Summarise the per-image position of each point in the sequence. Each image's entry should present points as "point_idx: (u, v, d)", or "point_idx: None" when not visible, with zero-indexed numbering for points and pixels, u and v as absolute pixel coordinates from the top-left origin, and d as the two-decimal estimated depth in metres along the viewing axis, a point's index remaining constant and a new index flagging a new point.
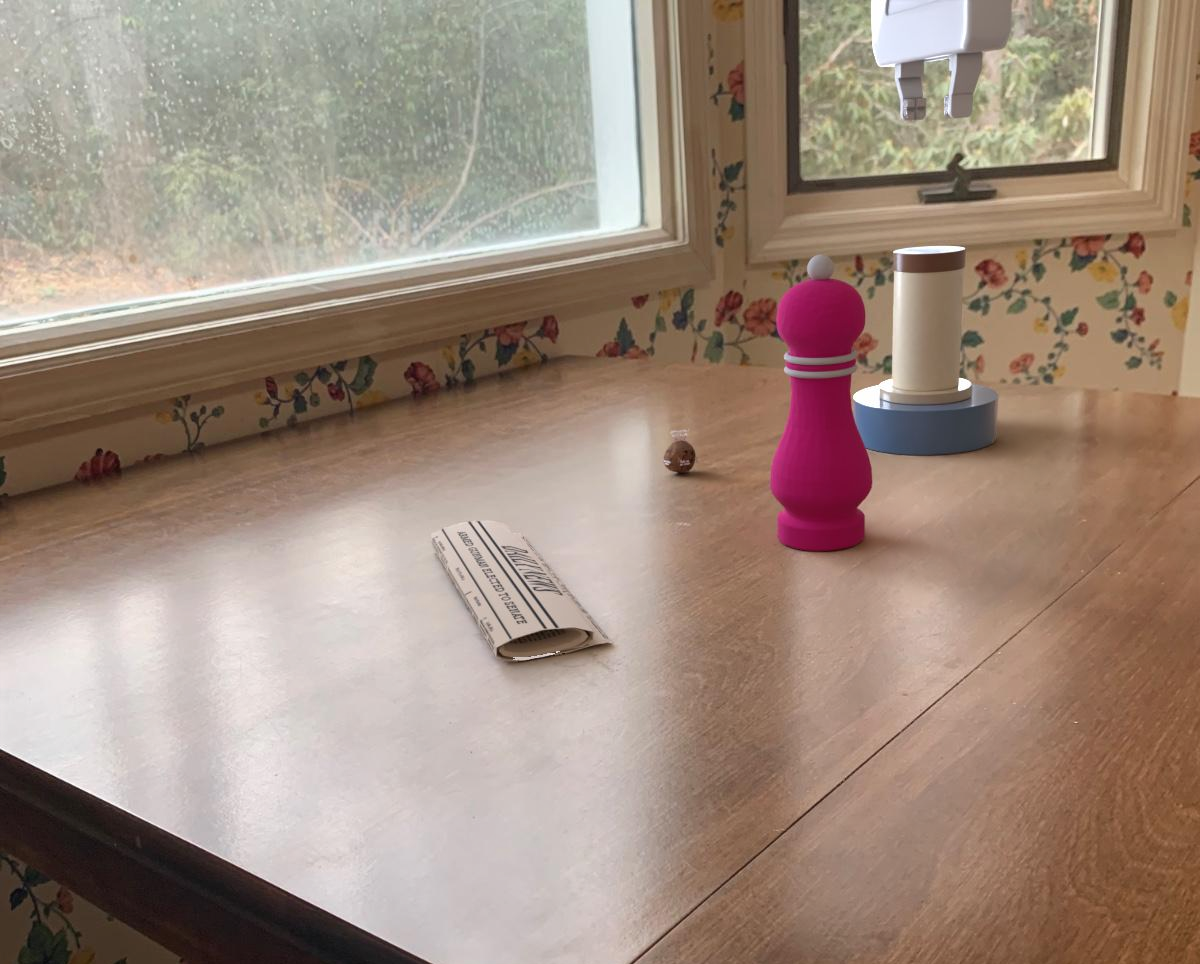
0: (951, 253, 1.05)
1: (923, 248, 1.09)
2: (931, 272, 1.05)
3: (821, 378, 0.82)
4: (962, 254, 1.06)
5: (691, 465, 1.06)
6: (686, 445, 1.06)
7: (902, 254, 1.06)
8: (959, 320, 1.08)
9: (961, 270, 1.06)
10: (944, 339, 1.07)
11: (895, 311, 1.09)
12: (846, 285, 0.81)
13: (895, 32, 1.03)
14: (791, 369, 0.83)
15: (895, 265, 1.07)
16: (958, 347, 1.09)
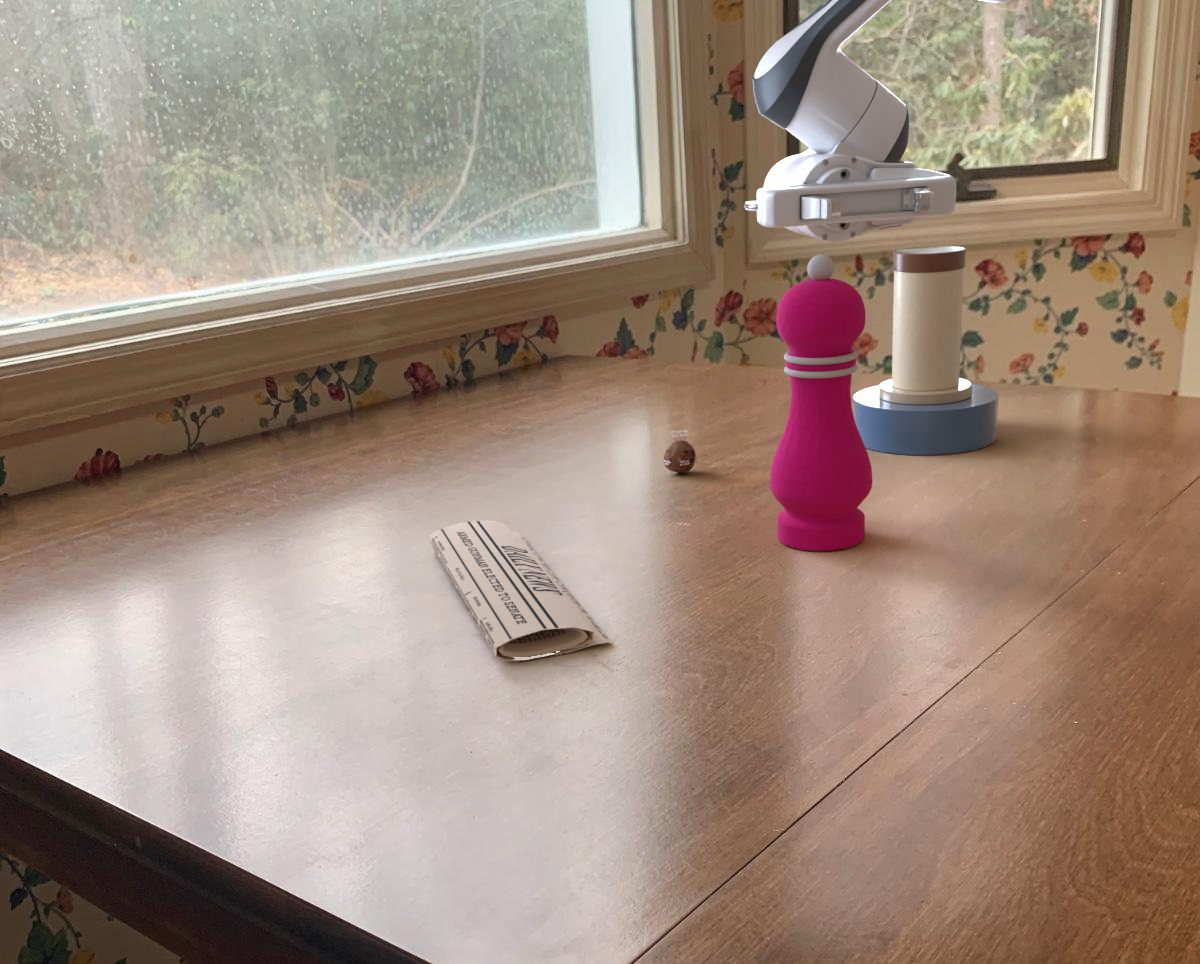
0: (951, 253, 1.05)
1: (923, 248, 1.09)
2: (931, 272, 1.05)
3: (821, 378, 0.82)
4: (962, 254, 1.06)
5: (691, 465, 1.06)
6: (686, 445, 1.06)
7: (902, 254, 1.06)
8: (959, 320, 1.08)
9: (961, 270, 1.06)
10: (944, 339, 1.07)
11: (895, 311, 1.09)
12: (846, 285, 0.81)
13: None
14: (791, 369, 0.83)
15: (895, 265, 1.07)
16: (958, 347, 1.09)
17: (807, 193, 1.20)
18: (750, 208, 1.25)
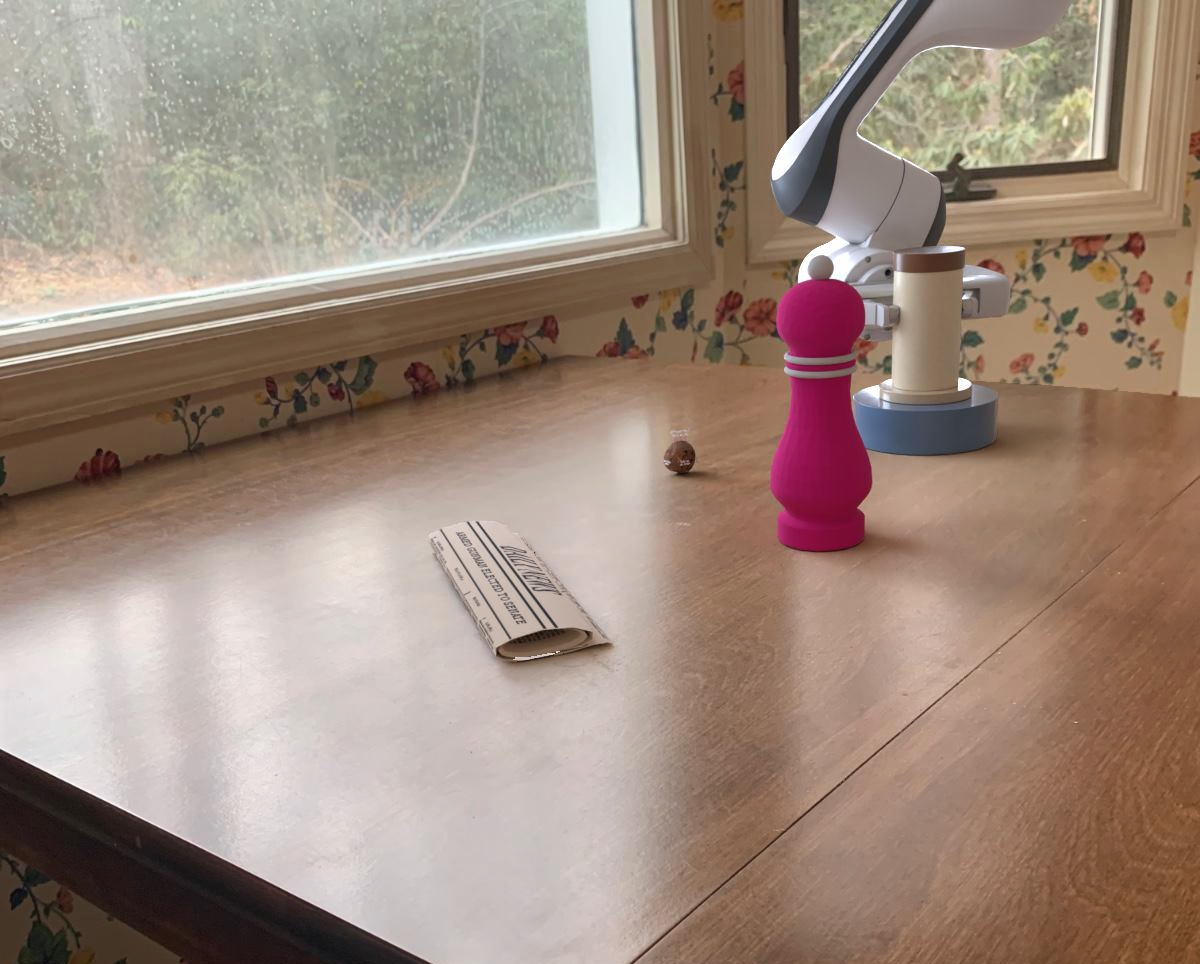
0: (951, 253, 1.05)
1: (923, 248, 1.09)
2: (931, 272, 1.05)
3: (821, 378, 0.82)
4: (962, 254, 1.06)
5: (691, 465, 1.06)
6: (686, 445, 1.06)
7: (902, 254, 1.06)
8: (959, 320, 1.08)
9: (961, 270, 1.06)
10: (944, 339, 1.07)
11: None
12: (846, 285, 0.81)
13: None
14: (791, 369, 0.83)
15: (895, 265, 1.07)
16: (958, 347, 1.09)
17: None
18: None
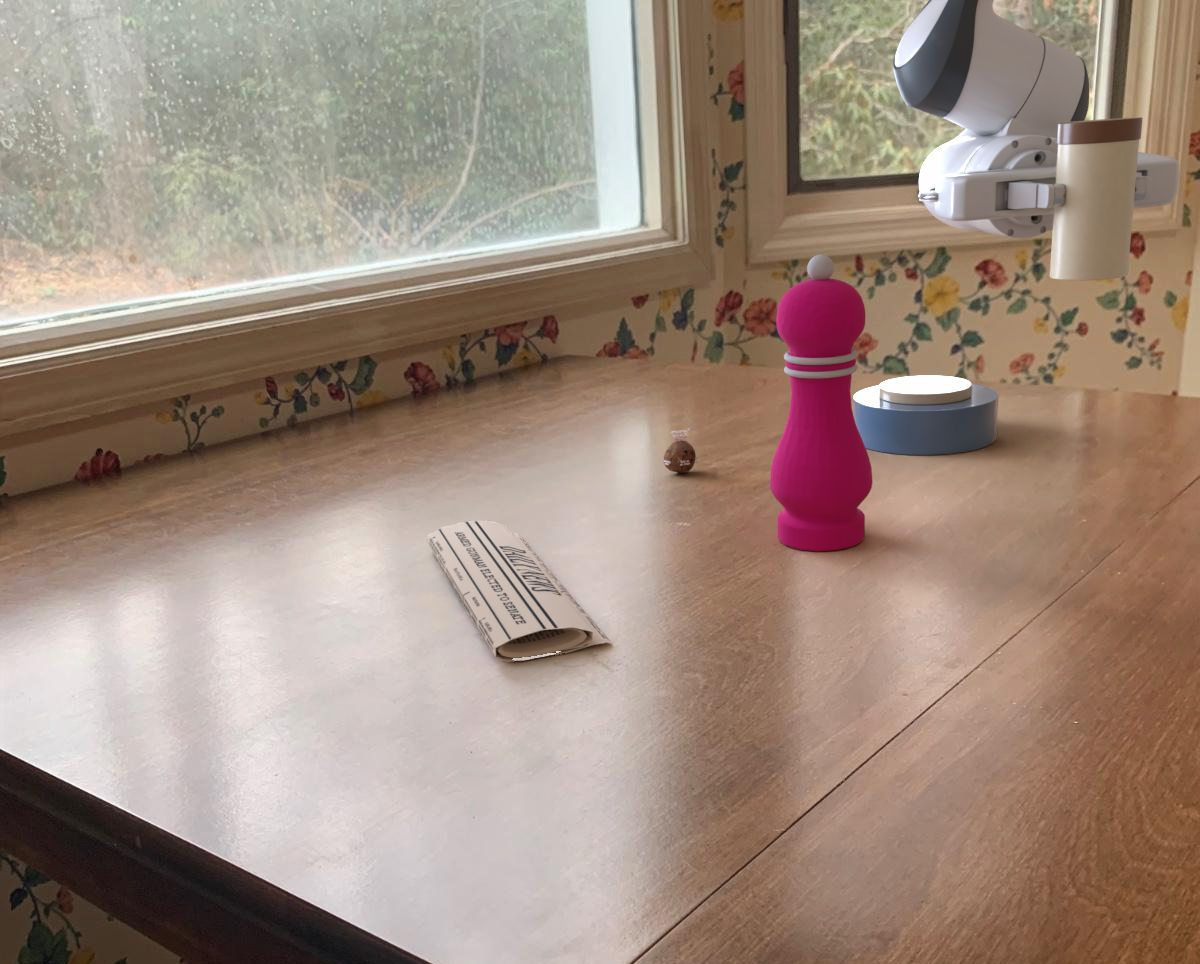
0: (1129, 120, 0.93)
1: (1090, 120, 0.97)
2: (1106, 142, 0.94)
3: (821, 378, 0.82)
4: (1140, 122, 0.94)
5: (691, 465, 1.06)
6: (686, 445, 1.06)
7: (1072, 123, 0.94)
8: (1132, 199, 0.96)
9: (1137, 141, 0.95)
10: (1117, 220, 0.96)
11: None
12: (846, 285, 0.81)
13: None
14: (791, 369, 0.83)
15: (1061, 137, 0.96)
16: (1130, 231, 0.97)
17: (1005, 179, 1.00)
18: (928, 199, 1.05)
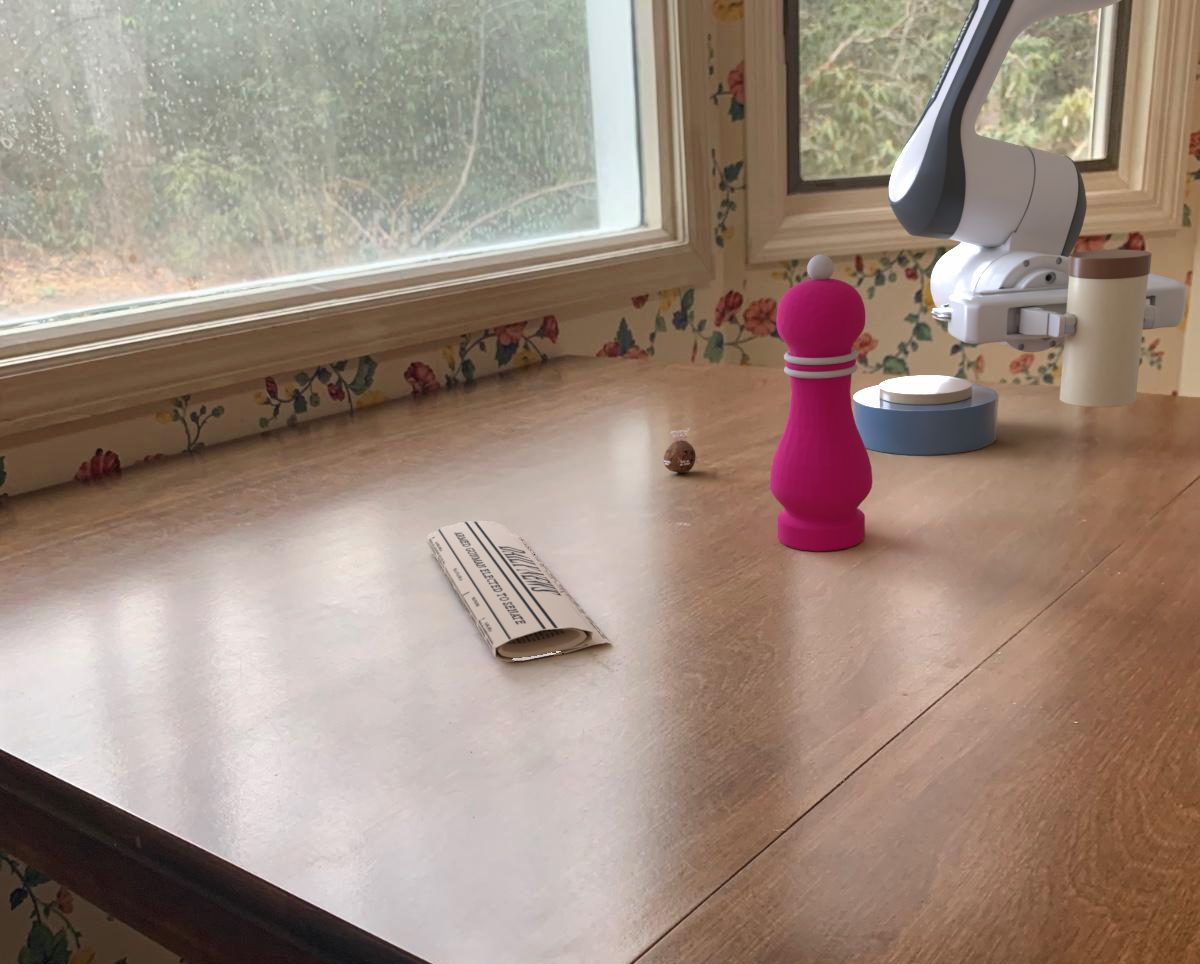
0: (1139, 258, 0.96)
1: (1101, 252, 1.00)
2: (1116, 278, 0.96)
3: (821, 378, 0.82)
4: (1149, 259, 0.97)
5: (691, 465, 1.06)
6: (686, 445, 1.06)
7: (1083, 258, 0.97)
8: (1141, 330, 0.99)
9: (1146, 276, 0.97)
10: (1126, 351, 0.98)
11: None
12: (846, 285, 0.81)
13: None
14: (791, 369, 0.83)
15: (1073, 270, 0.99)
16: (1138, 360, 1.00)
17: (1017, 305, 1.03)
18: (941, 318, 1.08)
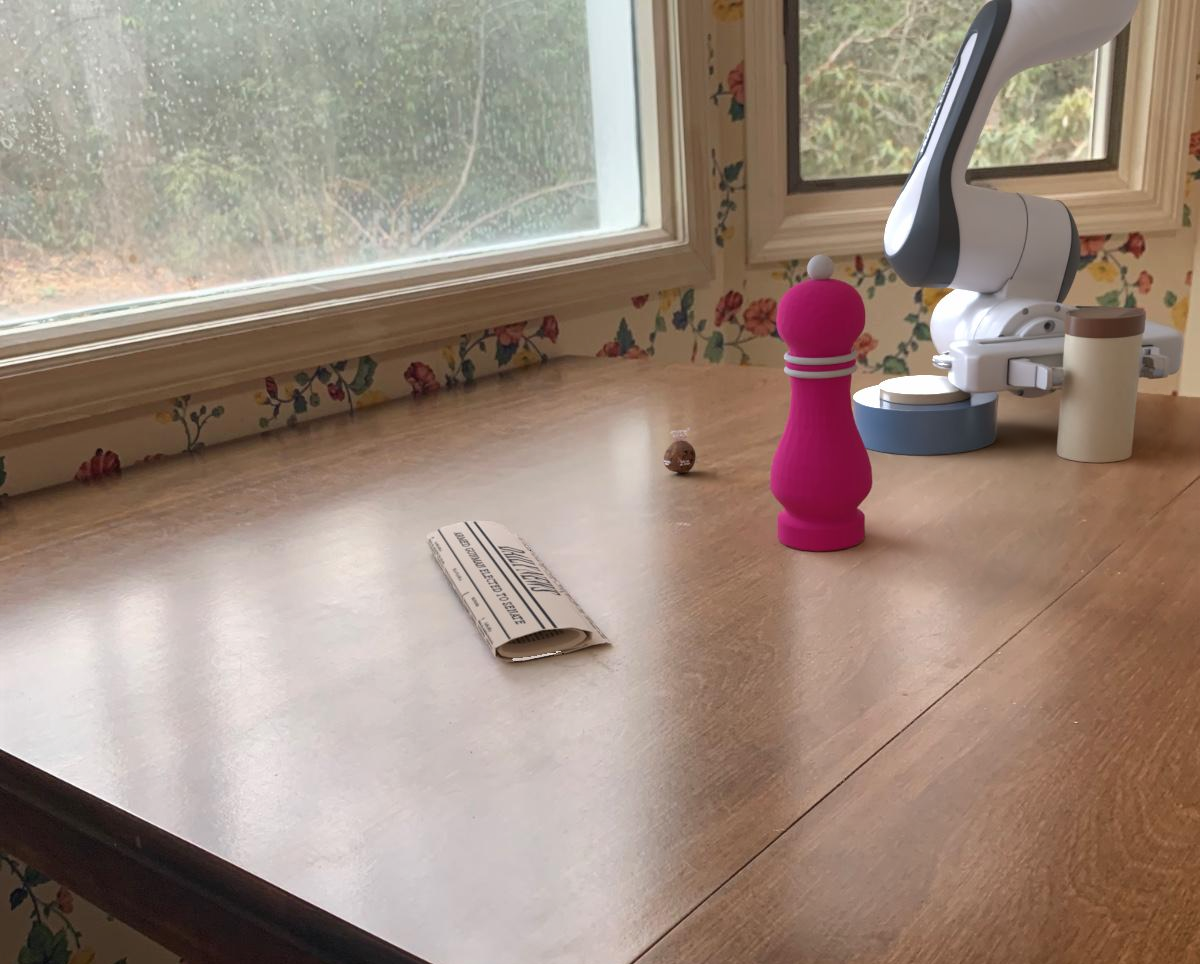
0: (1133, 318, 0.97)
1: (1096, 310, 1.01)
2: (1111, 338, 0.98)
3: (821, 378, 0.82)
4: (1143, 318, 0.98)
5: (691, 465, 1.06)
6: (686, 445, 1.06)
7: (1078, 318, 0.99)
8: (1136, 387, 1.01)
9: (1141, 335, 0.99)
10: (1122, 408, 1.00)
11: (1066, 377, 1.02)
12: (846, 285, 0.81)
13: None
14: (791, 369, 0.83)
15: (1068, 329, 1.00)
16: (1134, 416, 1.01)
17: (1016, 356, 1.04)
18: (942, 366, 1.09)
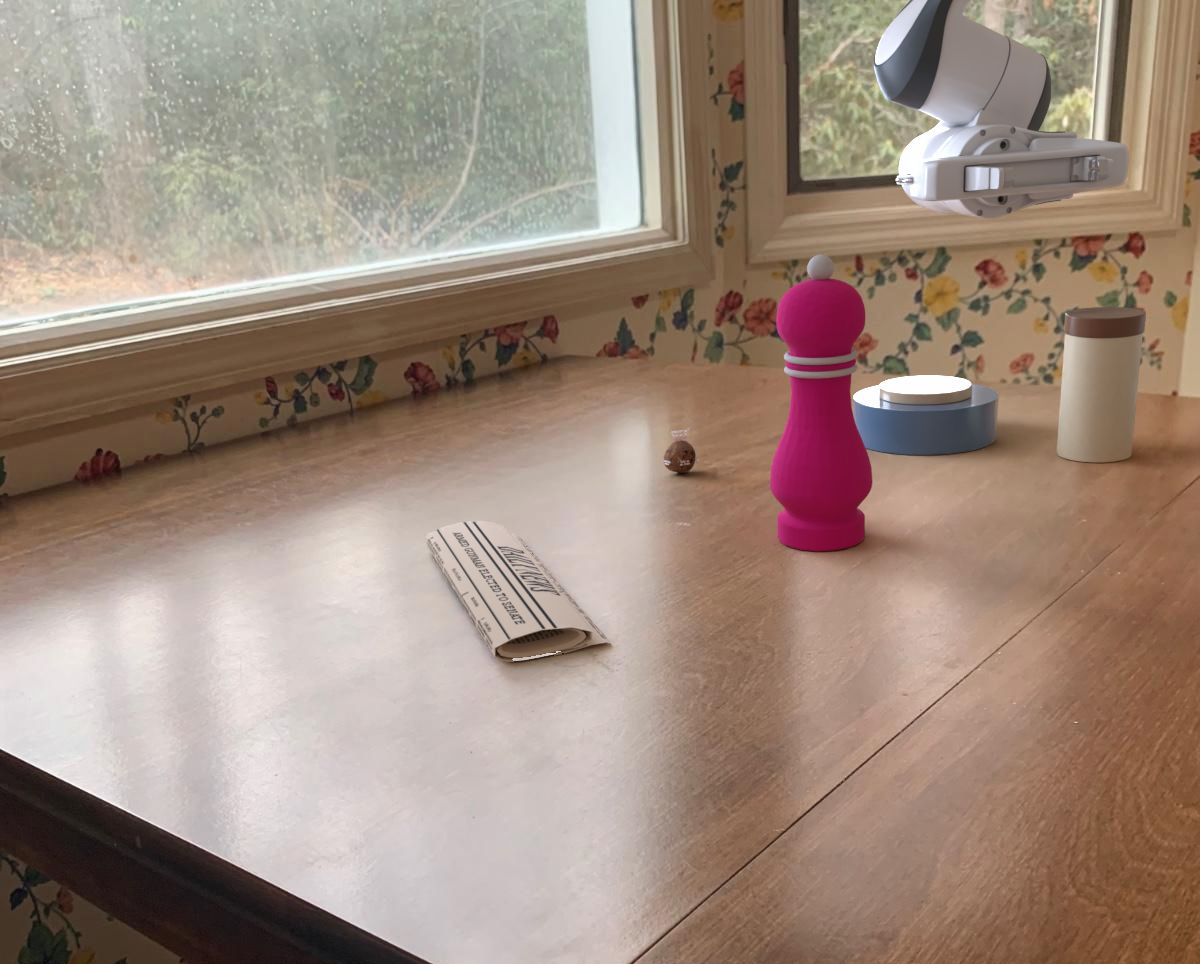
0: (1133, 318, 0.97)
1: (1096, 310, 1.01)
2: (1111, 338, 0.98)
3: (821, 378, 0.82)
4: (1143, 318, 0.98)
5: (691, 465, 1.06)
6: (686, 445, 1.06)
7: (1078, 318, 0.99)
8: (1136, 387, 1.01)
9: (1141, 335, 0.99)
10: (1122, 408, 1.00)
11: (1066, 377, 1.02)
12: (846, 285, 0.81)
13: None
14: (791, 369, 0.83)
15: (1068, 329, 1.00)
16: (1134, 416, 1.01)
17: (972, 163, 1.12)
18: (904, 182, 1.17)
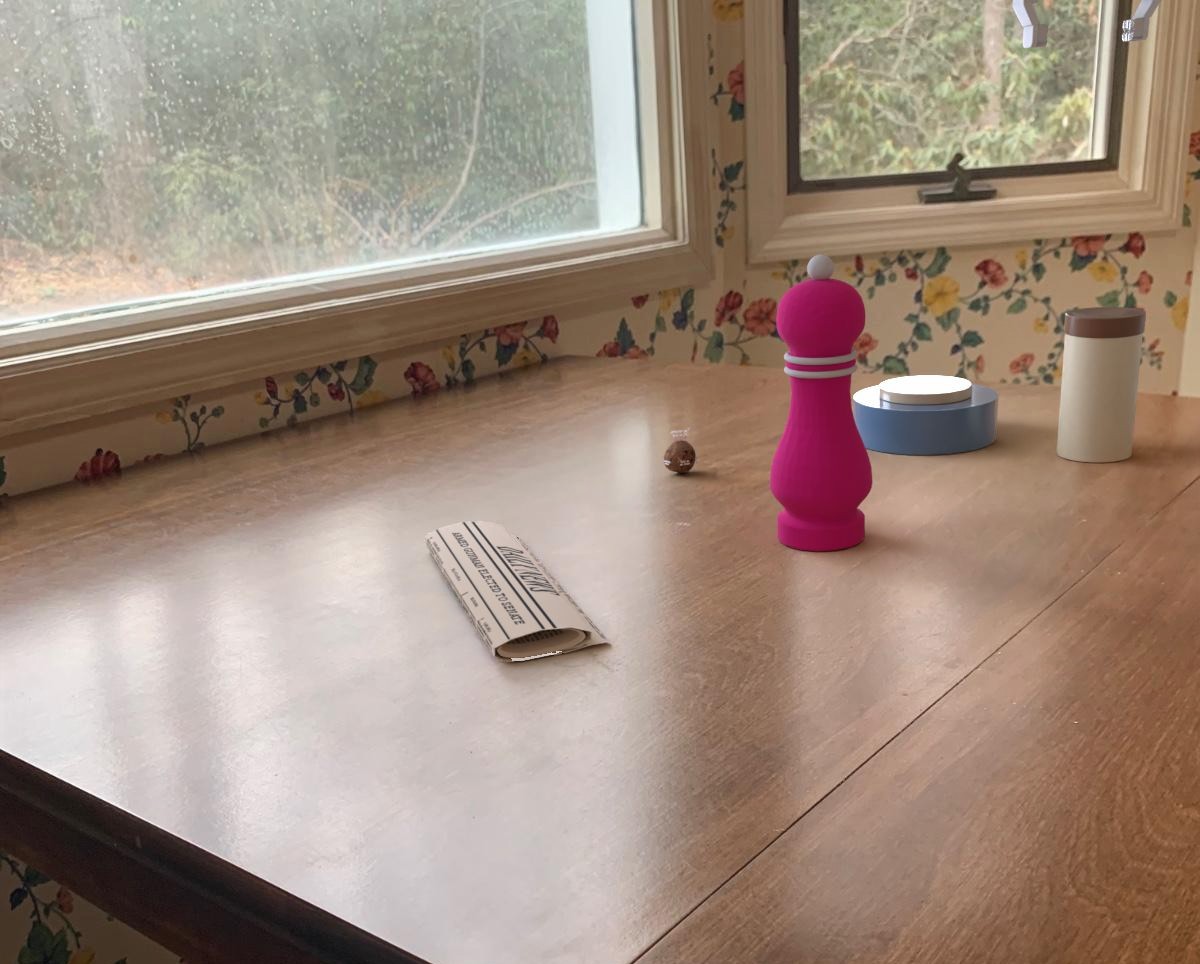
0: (1133, 318, 0.97)
1: (1096, 310, 1.01)
2: (1111, 338, 0.98)
3: (821, 378, 0.82)
4: (1143, 318, 0.98)
5: (691, 465, 1.06)
6: (686, 445, 1.06)
7: (1078, 318, 0.99)
8: (1136, 387, 1.01)
9: (1141, 335, 0.99)
10: (1122, 408, 1.00)
11: (1066, 377, 1.02)
12: (846, 285, 0.81)
13: None
14: (791, 369, 0.83)
15: (1068, 329, 1.00)
16: (1134, 416, 1.01)
17: None
18: None
